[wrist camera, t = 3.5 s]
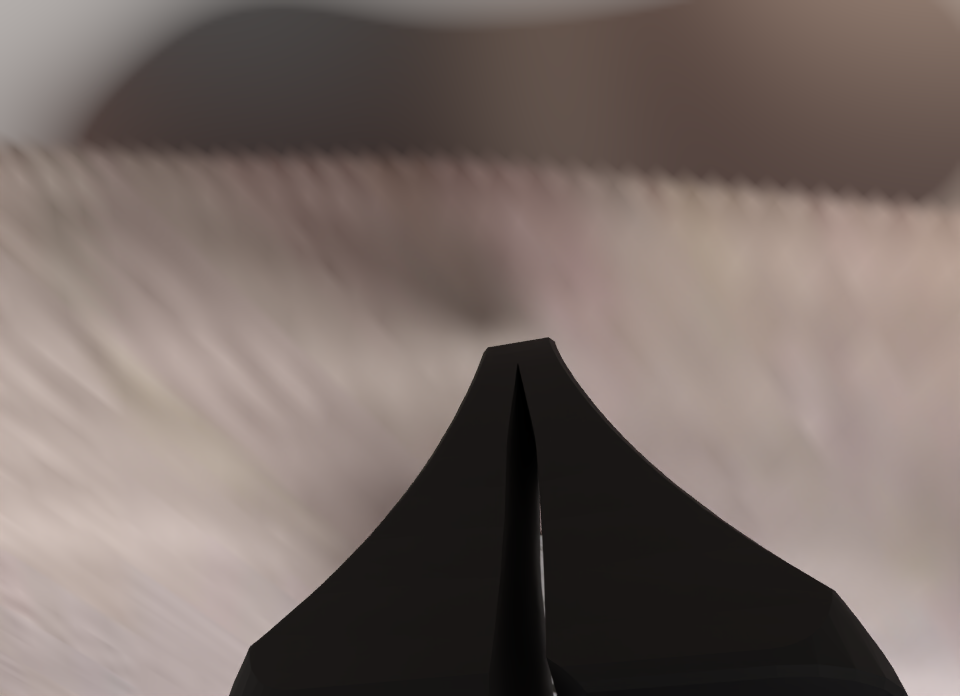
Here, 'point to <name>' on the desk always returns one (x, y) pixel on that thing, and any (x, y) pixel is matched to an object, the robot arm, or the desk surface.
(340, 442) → the desk surface
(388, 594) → the robot arm
